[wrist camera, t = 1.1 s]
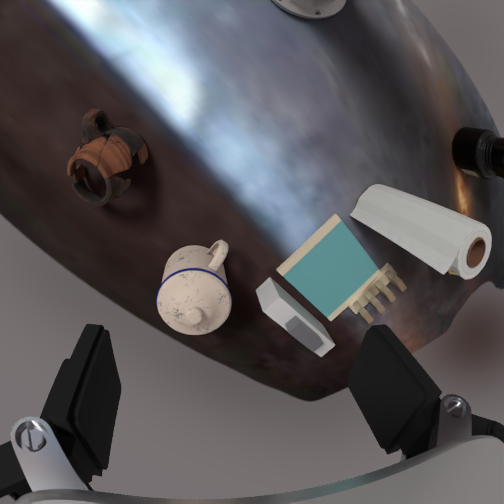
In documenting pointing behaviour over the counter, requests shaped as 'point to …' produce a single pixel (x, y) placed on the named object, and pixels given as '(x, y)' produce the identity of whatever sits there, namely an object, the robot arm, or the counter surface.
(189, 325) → the teacup with lid
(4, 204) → the counter surface
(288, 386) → the counter surface
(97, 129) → the pottery mug
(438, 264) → the paper towel roll
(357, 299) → the cable comb
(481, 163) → the ink bottle
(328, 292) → the pad
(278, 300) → the block
